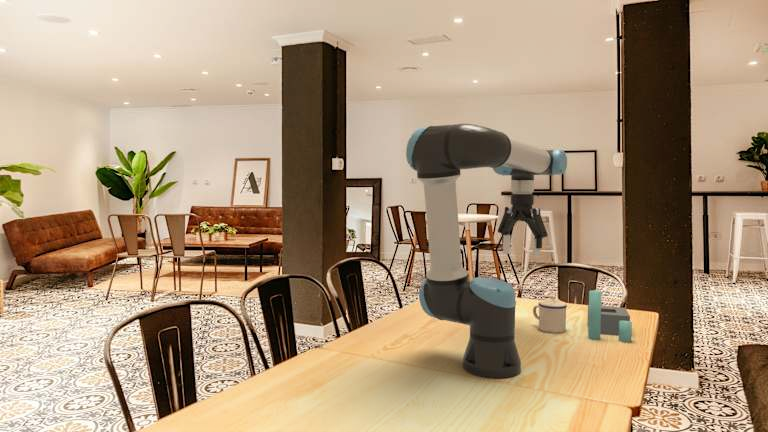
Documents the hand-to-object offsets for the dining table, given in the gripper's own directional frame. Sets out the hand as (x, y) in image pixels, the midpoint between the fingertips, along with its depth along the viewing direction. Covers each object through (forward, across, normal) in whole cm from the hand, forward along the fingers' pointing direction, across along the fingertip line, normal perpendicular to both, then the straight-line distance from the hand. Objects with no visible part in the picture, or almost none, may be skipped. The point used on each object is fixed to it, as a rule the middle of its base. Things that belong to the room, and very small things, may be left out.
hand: (521, 256), depth 180 cm
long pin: (+24, -22, -10) cm, 34 cm away
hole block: (+24, -18, -23) cm, 38 cm away
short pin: (+24, -29, -16) cm, 41 cm away
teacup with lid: (+25, -7, -7) cm, 26 cm away
